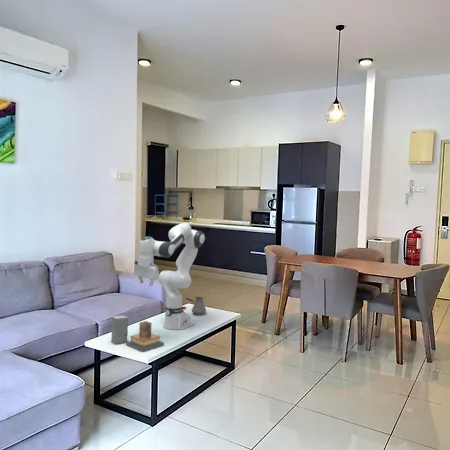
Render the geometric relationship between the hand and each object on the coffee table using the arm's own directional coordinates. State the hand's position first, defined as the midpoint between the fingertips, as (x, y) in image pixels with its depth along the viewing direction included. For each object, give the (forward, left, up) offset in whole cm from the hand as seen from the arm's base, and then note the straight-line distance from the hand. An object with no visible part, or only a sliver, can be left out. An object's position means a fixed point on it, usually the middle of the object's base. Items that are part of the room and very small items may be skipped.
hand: (146, 284), depth 262 cm
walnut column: (+7, +9, -29) cm, 31 cm away
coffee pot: (-63, -18, -35) cm, 74 cm away
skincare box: (+14, -7, -35) cm, 39 cm away
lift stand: (+7, +9, -35) cm, 37 cm away
